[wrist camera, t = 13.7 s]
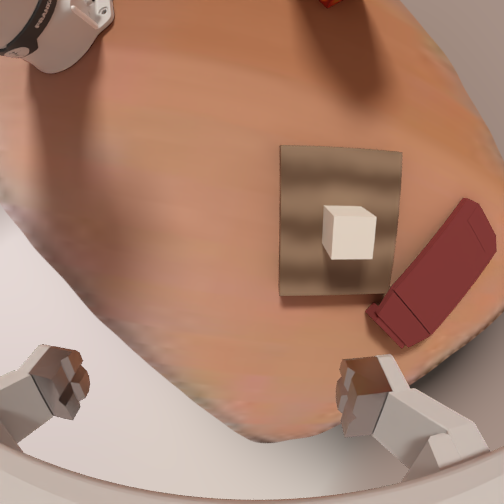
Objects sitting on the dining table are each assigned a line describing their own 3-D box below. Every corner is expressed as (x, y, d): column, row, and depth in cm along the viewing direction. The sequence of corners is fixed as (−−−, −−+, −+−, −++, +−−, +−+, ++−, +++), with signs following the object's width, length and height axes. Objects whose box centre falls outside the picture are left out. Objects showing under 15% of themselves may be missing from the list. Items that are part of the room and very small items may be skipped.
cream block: (323, 205, 39) (333, 216, 34) (361, 206, 39) (376, 216, 33) (322, 243, 41) (331, 259, 35) (358, 243, 41) (372, 259, 35)
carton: (453, 190, 44) (357, 303, 47) (472, 192, 39) (370, 316, 42) (482, 239, 46) (396, 344, 49) (500, 245, 42) (410, 357, 44)
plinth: (279, 145, 40) (280, 145, 37) (393, 151, 39) (402, 152, 36) (278, 286, 46) (279, 295, 44) (381, 284, 46) (388, 293, 43)
